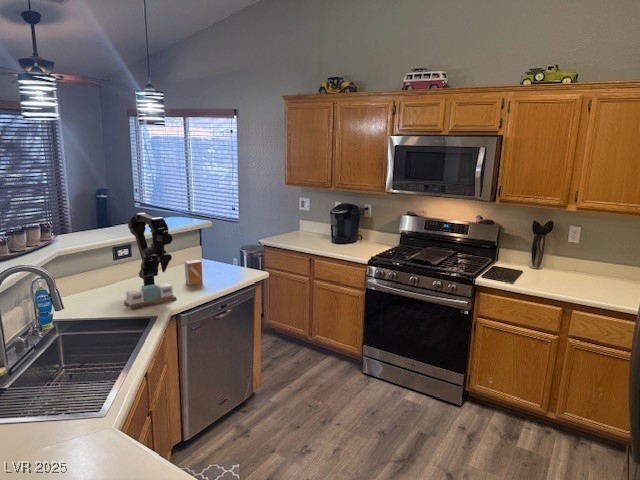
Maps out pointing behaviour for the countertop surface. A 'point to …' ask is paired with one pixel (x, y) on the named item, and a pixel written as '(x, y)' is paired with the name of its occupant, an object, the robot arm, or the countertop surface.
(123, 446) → the countertop surface
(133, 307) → the rail board
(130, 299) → the mounted modules
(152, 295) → the block
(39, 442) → the countertop surface
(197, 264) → the small box
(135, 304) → the metal rail
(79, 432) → the countertop surface
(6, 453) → the countertop surface
